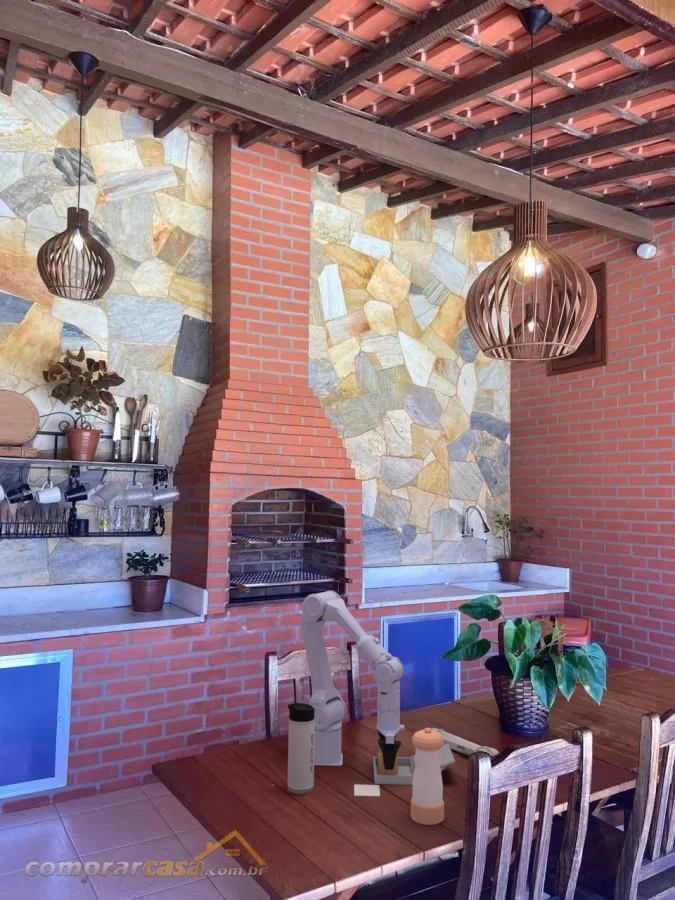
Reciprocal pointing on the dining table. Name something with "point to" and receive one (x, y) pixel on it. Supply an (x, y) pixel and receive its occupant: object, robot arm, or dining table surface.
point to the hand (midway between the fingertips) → (388, 763)
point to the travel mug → (301, 748)
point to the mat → (366, 790)
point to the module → (382, 768)
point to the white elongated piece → (463, 744)
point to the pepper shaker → (427, 778)
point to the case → (409, 768)
